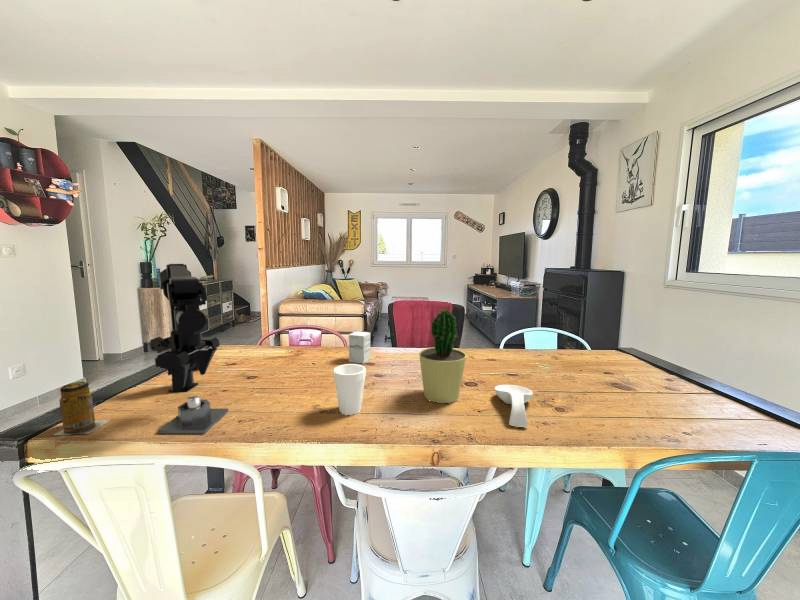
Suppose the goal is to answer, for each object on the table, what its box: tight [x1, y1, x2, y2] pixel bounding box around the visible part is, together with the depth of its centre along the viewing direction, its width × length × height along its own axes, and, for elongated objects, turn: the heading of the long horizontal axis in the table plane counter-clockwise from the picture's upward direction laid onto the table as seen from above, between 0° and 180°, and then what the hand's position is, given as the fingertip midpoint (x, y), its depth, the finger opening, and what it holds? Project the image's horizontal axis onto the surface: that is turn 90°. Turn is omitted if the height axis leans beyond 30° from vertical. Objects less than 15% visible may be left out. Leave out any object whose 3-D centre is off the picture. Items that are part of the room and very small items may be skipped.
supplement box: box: [348, 331, 371, 365], centre depth 142 cm, size 7×7×13 cm
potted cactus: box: [418, 309, 467, 404], centre depth 106 cm, size 15×15×30 cm
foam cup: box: [333, 363, 367, 416], centre depth 96 cm, size 10×9×13 cm
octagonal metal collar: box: [177, 398, 211, 425], centre depth 89 cm, size 7×7×4 cm
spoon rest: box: [494, 384, 534, 428], centre depth 99 cm, size 24×12×7 cm, turn 167°
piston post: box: [157, 395, 229, 435], centre depth 89 cm, size 12×12×7 cm
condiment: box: [53, 381, 111, 436], centre depth 85 cm, size 7×8×12 cm
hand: (192, 380), depth 89 cm, fingers open, 9 cm apart
